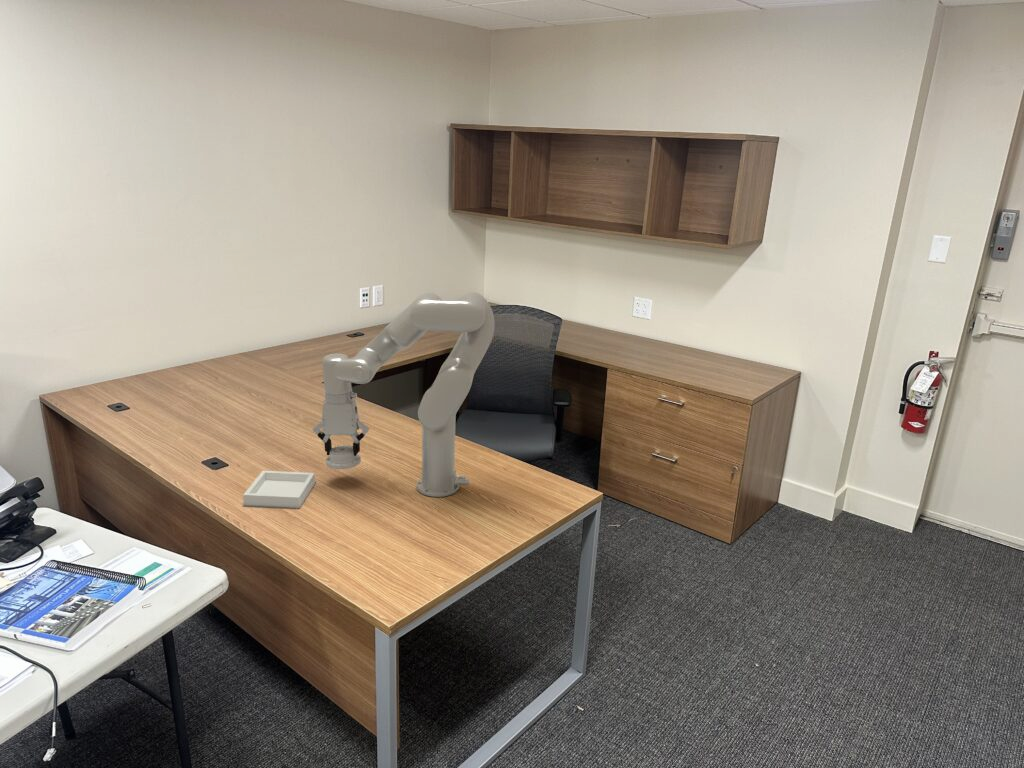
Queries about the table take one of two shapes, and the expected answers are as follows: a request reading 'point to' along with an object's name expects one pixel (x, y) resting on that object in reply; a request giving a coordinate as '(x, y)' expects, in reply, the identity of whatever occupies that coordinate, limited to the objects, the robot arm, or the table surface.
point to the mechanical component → (342, 458)
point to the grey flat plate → (274, 507)
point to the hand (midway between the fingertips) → (342, 453)
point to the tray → (279, 489)
